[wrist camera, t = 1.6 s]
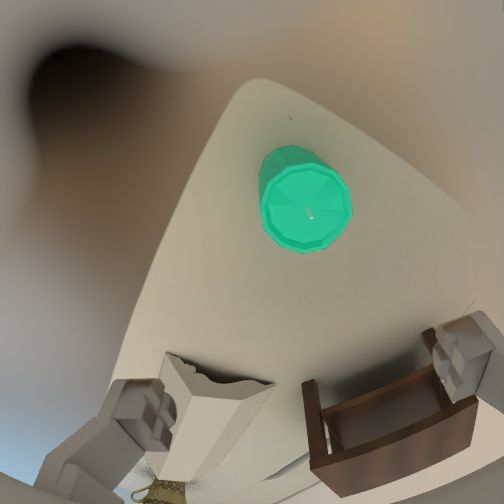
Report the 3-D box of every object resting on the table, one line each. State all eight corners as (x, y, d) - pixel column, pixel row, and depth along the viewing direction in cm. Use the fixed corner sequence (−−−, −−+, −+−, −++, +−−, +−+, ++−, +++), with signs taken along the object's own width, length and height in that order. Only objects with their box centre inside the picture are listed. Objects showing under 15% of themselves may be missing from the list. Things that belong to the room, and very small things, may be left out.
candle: (275, 216, 31) (285, 278, 20) (248, 162, 28) (241, 194, 17) (331, 191, 29) (372, 240, 18) (307, 135, 27) (339, 150, 16)
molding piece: (187, 436, 59) (212, 471, 53) (141, 451, 51) (165, 491, 45) (234, 337, 46) (276, 385, 40) (165, 353, 38) (206, 414, 32)
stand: (433, 326, 36) (479, 401, 24) (439, 381, 41) (470, 446, 29) (300, 383, 40) (310, 470, 28) (329, 427, 46) (340, 498, 33)
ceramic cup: (193, 473, 55) (188, 511, 46) (190, 487, 59) (185, 520, 50) (136, 460, 54) (127, 496, 45) (139, 475, 58) (131, 507, 49)
